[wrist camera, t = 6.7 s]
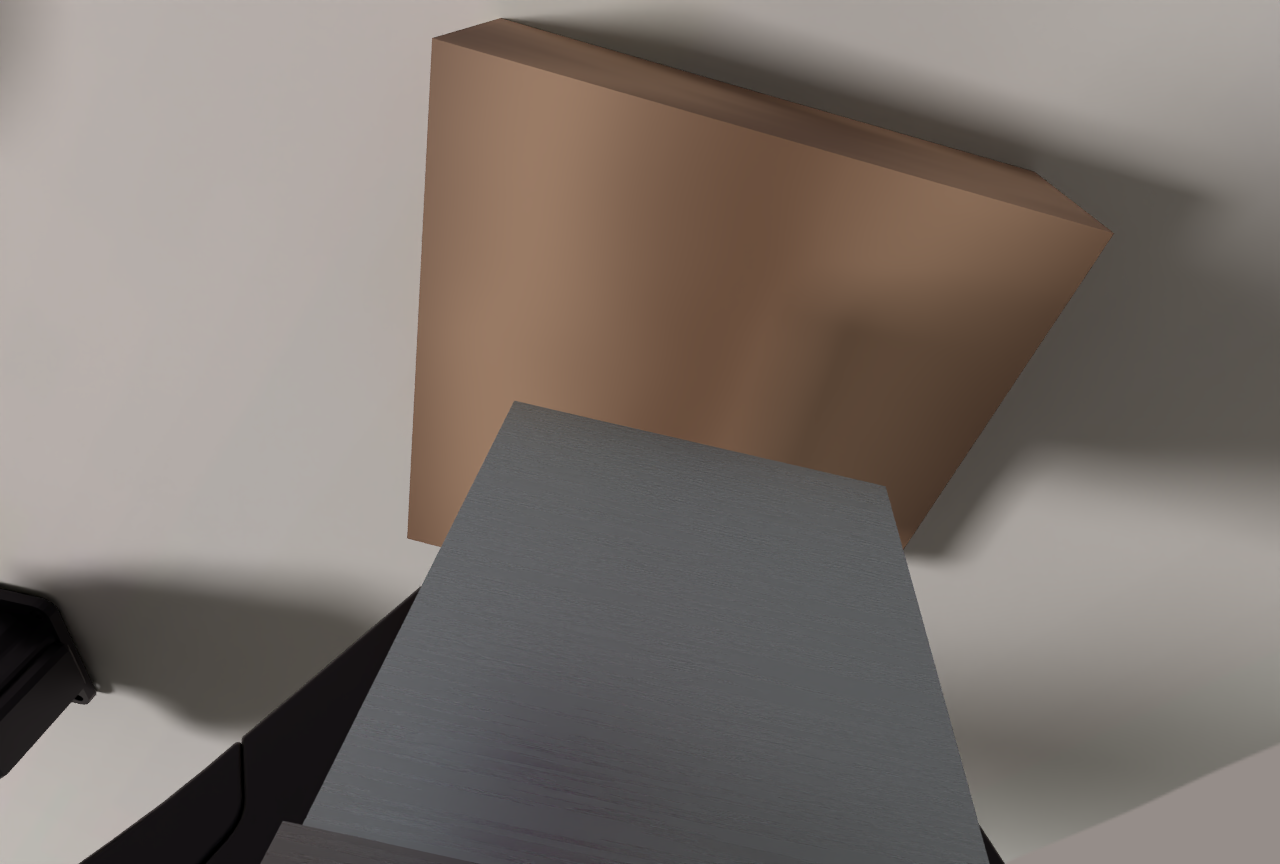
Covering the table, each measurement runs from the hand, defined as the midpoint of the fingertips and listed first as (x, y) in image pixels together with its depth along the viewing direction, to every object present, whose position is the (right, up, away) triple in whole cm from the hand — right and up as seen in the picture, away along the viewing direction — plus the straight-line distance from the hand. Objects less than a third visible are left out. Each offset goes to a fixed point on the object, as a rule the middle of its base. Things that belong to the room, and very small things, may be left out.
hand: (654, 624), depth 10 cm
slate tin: (0, +1, +1) cm, 1 cm away
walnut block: (+1, +5, +7) cm, 9 cm away
